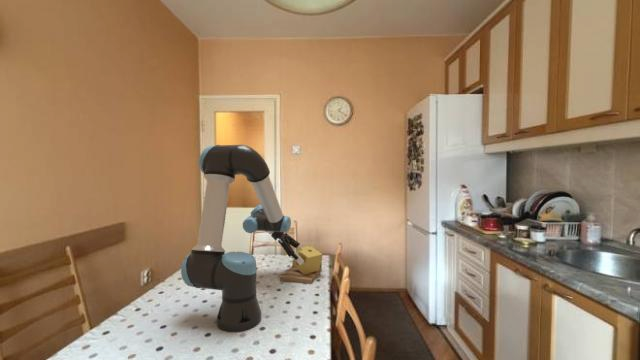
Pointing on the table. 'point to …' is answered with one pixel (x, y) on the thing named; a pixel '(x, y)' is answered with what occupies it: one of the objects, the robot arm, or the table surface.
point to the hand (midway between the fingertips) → (304, 259)
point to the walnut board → (299, 275)
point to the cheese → (308, 260)
